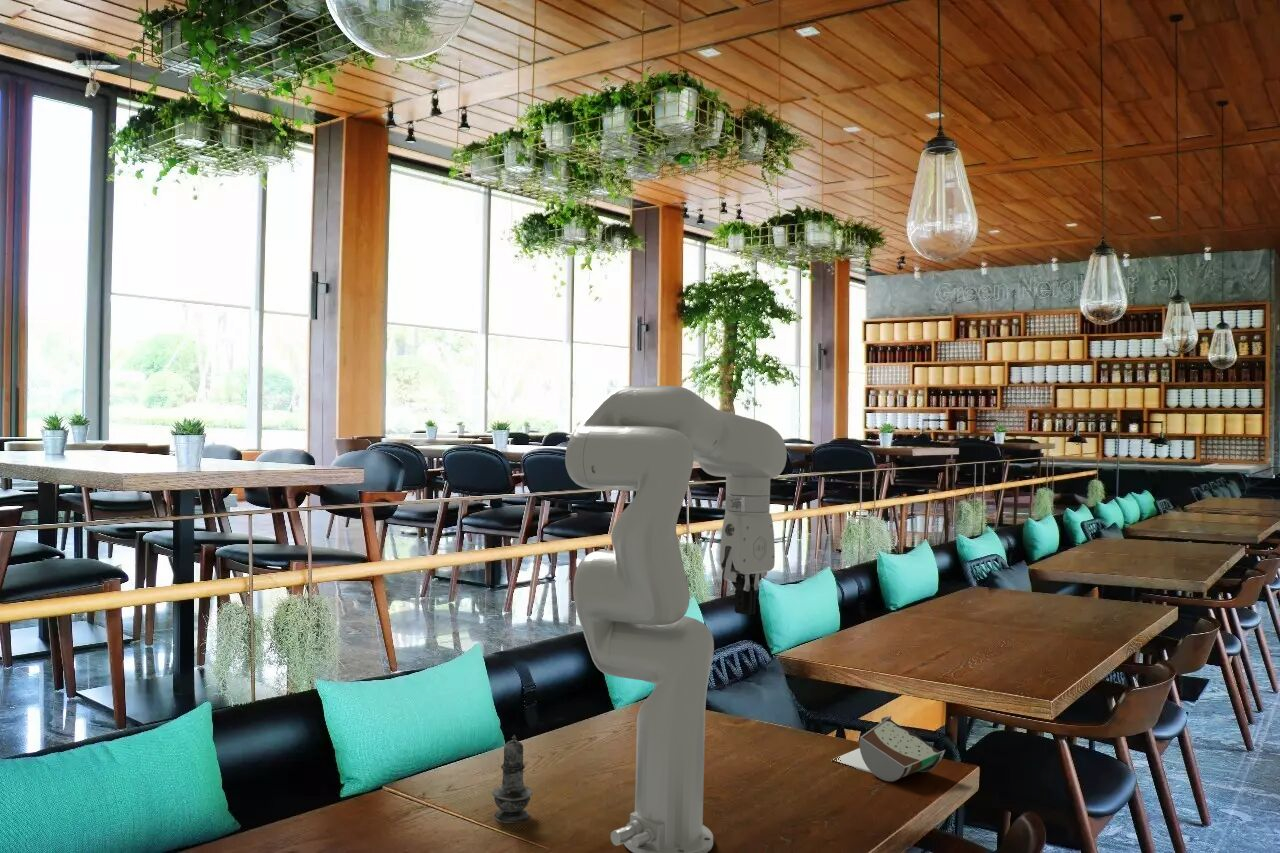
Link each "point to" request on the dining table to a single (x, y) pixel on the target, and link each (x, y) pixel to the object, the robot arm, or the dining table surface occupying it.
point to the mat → (854, 760)
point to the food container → (896, 751)
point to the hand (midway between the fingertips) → (744, 613)
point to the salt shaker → (512, 786)
